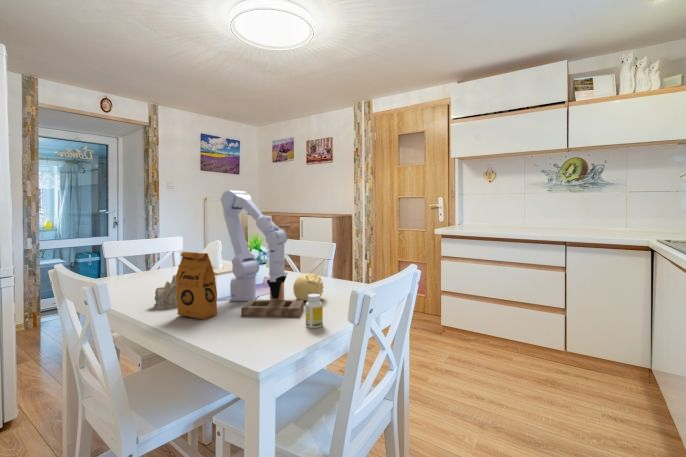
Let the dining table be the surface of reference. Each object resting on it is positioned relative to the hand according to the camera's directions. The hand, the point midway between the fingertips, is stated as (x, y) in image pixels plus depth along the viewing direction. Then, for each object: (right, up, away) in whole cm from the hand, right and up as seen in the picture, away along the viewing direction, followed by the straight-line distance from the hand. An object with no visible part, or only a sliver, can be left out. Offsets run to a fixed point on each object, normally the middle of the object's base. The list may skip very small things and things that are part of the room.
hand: (277, 296), depth 136 cm
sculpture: (+11, -3, +6) cm, 13 cm away
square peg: (0, -3, 0) cm, 3 cm away
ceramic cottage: (-40, -3, +2) cm, 40 cm away
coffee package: (-25, -4, -14) cm, 29 cm away
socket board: (+1, -4, -10) cm, 11 cm away
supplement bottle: (+16, -5, -24) cm, 29 cm away
